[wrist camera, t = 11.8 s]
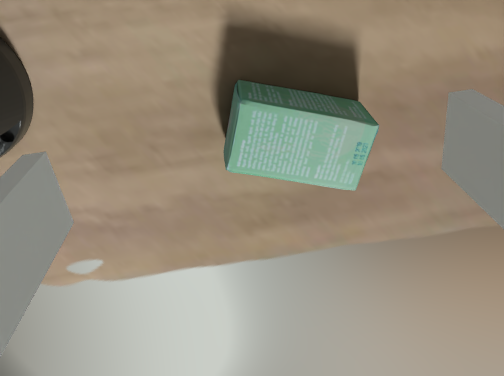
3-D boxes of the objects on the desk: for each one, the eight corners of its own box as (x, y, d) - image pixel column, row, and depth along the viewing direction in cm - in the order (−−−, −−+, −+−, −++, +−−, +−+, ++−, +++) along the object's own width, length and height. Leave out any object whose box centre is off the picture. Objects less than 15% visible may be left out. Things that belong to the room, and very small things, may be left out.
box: (233, 77, 44) (236, 99, 37) (359, 98, 46) (383, 123, 39) (222, 143, 47) (223, 174, 41) (339, 160, 49) (358, 193, 43)
